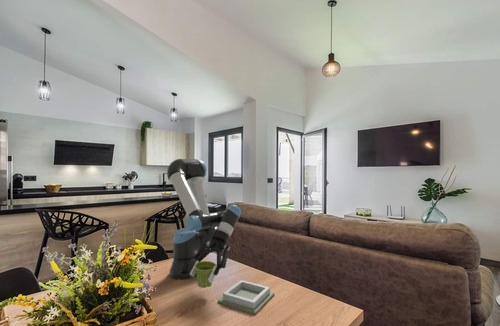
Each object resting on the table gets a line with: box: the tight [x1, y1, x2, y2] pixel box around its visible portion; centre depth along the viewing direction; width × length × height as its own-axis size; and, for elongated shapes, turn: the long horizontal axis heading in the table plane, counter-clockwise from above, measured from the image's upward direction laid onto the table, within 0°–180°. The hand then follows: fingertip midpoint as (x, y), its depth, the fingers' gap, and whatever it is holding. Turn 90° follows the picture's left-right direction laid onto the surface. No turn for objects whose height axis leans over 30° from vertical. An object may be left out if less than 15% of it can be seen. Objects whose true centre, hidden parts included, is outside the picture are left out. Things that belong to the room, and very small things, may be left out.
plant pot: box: [194, 260, 217, 289], centre depth 114 cm, size 9×9×9 cm
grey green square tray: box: [217, 279, 275, 315], centre depth 112 cm, size 18×18×4 cm
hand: (200, 278), depth 111 cm, fingers closed on plant pot, 9 cm apart
